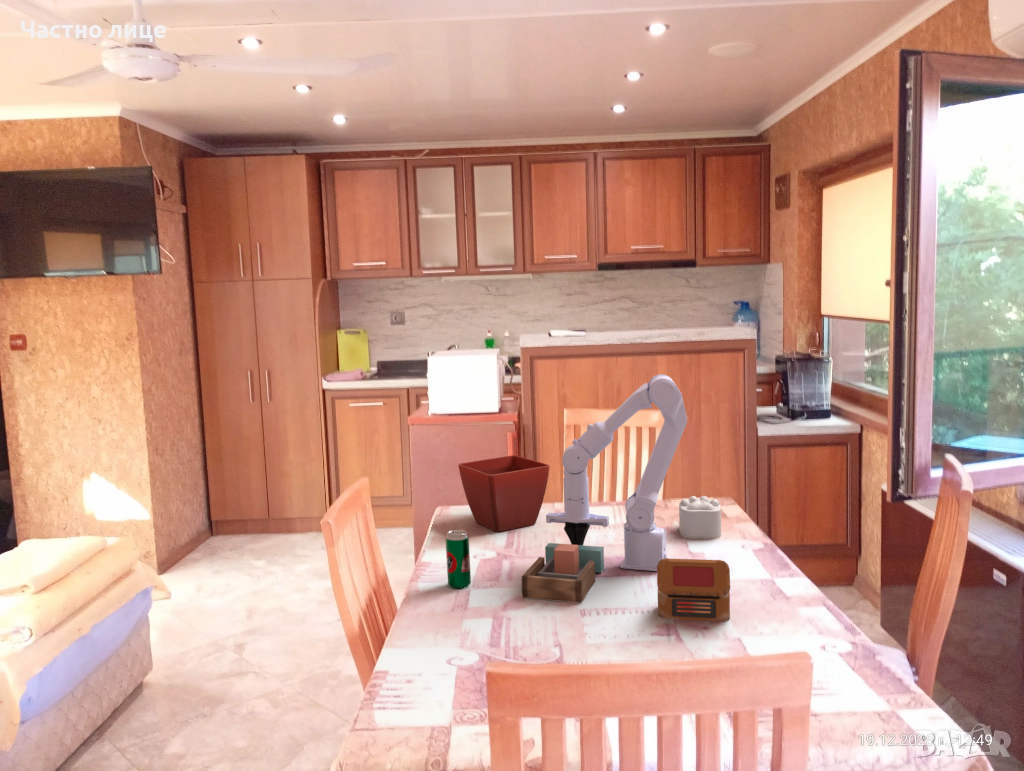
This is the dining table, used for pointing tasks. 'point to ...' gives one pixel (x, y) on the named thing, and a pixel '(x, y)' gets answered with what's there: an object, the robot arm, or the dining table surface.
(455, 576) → the soda can
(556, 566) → the brick-red block
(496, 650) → the dining table surface
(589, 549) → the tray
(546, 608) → the dining table surface
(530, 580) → the caddy
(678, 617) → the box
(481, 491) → the plant pot
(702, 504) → the lumpy-topped squat cylinder
